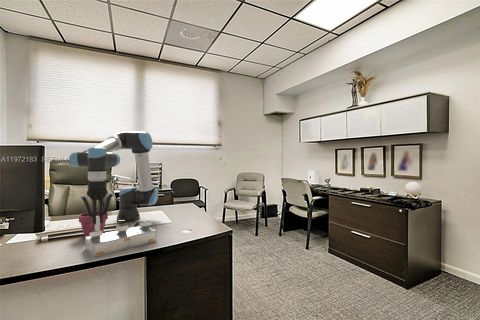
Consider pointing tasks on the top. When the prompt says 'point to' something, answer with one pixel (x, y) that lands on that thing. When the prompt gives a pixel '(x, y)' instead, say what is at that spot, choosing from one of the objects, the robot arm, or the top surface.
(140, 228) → the console
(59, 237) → the top surface
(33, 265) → the top surface
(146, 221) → the rocker
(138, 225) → the keypad
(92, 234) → the rocker
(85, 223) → the plant pot
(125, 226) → the rocker
